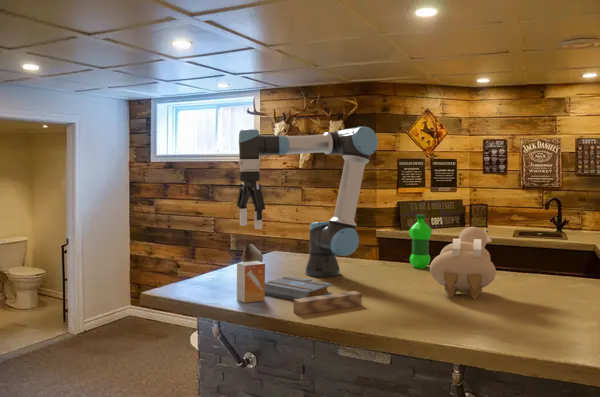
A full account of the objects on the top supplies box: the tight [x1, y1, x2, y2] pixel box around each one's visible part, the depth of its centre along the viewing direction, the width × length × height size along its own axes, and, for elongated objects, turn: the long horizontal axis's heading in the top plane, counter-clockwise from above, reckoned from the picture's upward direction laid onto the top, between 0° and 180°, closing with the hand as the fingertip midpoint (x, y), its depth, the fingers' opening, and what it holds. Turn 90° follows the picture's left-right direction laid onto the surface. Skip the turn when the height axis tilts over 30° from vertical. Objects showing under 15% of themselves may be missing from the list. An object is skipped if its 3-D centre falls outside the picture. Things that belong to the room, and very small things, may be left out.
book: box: [265, 276, 333, 301], centre depth 179 cm, size 21×16×5 cm
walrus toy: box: [429, 226, 497, 301], centre depth 179 cm, size 30×28×23 cm
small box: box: [236, 261, 266, 304], centre depth 170 cm, size 8×6×13 cm
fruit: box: [242, 241, 264, 263], centre depth 227 cm, size 10×9×12 cm
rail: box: [293, 290, 363, 316], centre depth 160 cm, size 24×4×4 cm, turn 120°
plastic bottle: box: [408, 214, 432, 269], centre depth 231 cm, size 10×10×25 cm
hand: (250, 227), depth 185 cm, fingers open, 13 cm apart
